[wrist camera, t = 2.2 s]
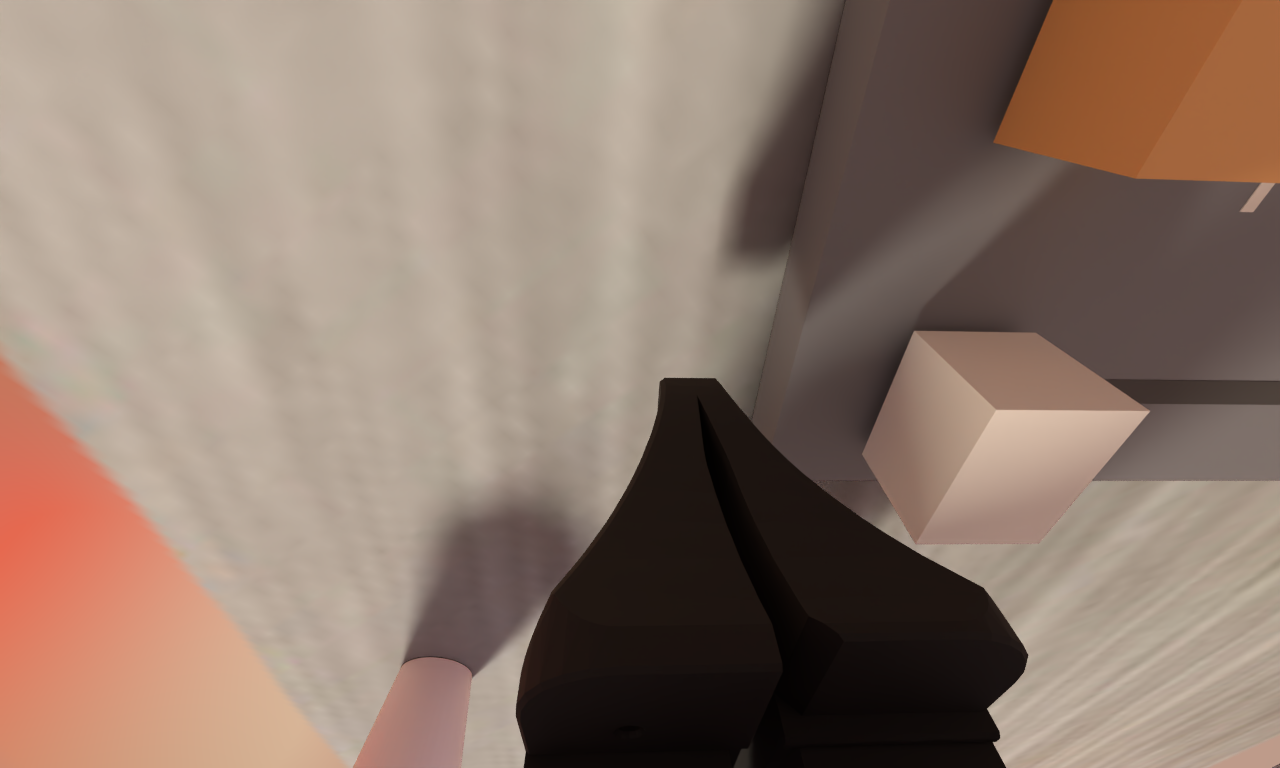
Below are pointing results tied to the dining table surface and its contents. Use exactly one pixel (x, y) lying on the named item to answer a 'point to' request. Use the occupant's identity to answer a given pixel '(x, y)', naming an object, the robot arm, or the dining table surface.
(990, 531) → the off white fader
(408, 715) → the smoothie
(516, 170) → the dining table surface
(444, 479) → the dining table surface
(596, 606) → the robot arm
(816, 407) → the fader console
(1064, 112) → the block
